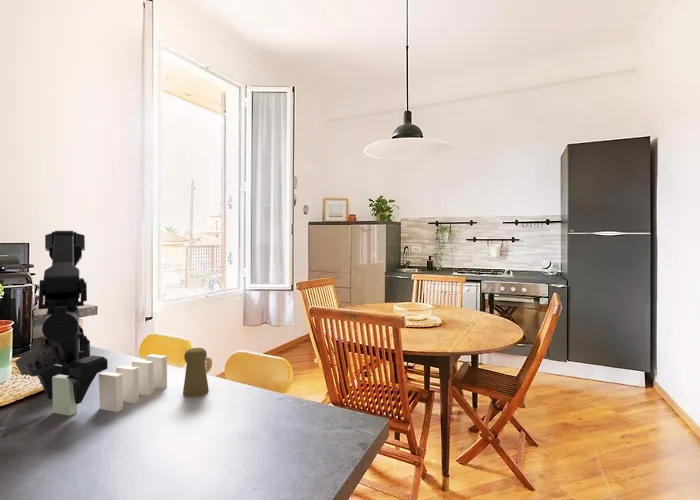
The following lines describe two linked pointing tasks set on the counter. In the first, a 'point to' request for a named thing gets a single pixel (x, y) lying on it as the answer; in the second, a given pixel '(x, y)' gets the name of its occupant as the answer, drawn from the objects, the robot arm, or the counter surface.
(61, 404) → the sage domino
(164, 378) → the domino
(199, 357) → the cork
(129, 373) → the domino
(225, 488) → the counter surface
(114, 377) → the domino
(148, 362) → the domino
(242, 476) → the counter surface
